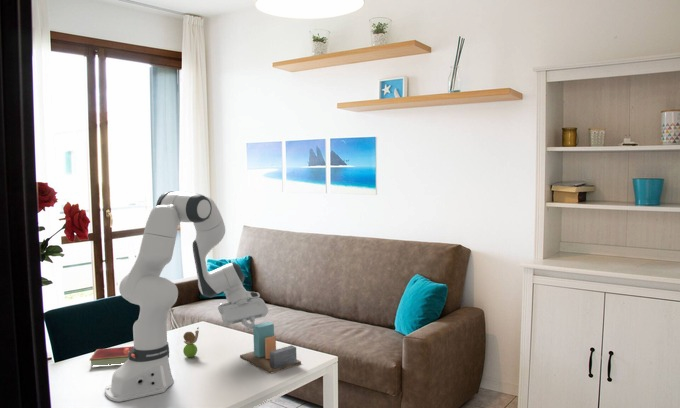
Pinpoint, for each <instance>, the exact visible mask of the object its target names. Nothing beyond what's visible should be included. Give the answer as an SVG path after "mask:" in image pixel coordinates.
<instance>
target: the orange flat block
mask: <svg viewBox="0 0 680 408" xmlns="http://www.w3.org/2000/svg"><path fill="white" fill-rule="evenodd" d="M276 341H277V338H276V336H275V335H274V336H271V337H267V338H265V358H266V359H270V351H274V350H277V342H276Z"/></svg>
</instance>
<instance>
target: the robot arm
mask: <svg viewBox="0 0 680 408" xmlns="http://www.w3.org/2000/svg"><path fill="white" fill-rule="evenodd" d="M180 223H192V224H193V227H194V228H195V229H194V230H195V231H196V232H195V233H196V235H195V238H194V240H193V242H192V254H193V259H194V264H195V268H196V274H197V286H198V289H199V292H200V294H201V295H202V296H204V297H207V298H213V297H216V296H217V295H218V294H221V293H224V294H225V299H226V301H227V302H226V303H220V304H219V306H218V307H217V310H218V312H219V314H220V317H221V321H222V323H223V325H224V326H230V325H234V324H238V323H242V325H243V326H244V327H246V328H247V330H248V331H249V330H253V325H256V324H255V320H256V319H259V318H264V317H266V316H267V315H268V314H269V313H268V312H269V308H268V306H267V304H266V302H265V300H264V299H263V298H261V294H260V293H259V292H255V291H249V290H246V288H245V287H244V281H245V275H244V273H243V271H242V269H241V267H240V264H238V263H235V262H230V263H226V264H224V265H222V266H220V267H218V268H215V269H213V270H210V271H208V267H207V262H206V258H207V255H208V254H209V253H210V252H211V251H212V250H213V249H214V248H215V247H216V246H217V245H219V244H220V243H221V241H222V240H223V239H224V236H225V234H226V225H225V223H224V219H223V217H222V214H221V211H220V210H219V208H218V206H217V204H216V202H215V201H214V200H213V199H212V198H211V197H209V196H205V195H203V194H200V193H193V192H188V191H166V192H163V193H162V194H161V195H160V196H159V197H158V199H157V200H156V205H155V206H154V207H153V208H152V209H151V211H150V213H149V215H148V218H147V220H146V223H145V226H144V230H143V235H142V238H141V239H142V240H141V244H140V247H139V252H138V255H137V257H136V260H135V262H134V264H133V266H132V267H131V269H130V271H129V273H128V274H126V276H124V277H123V278H122V279H121V281H120V283H119V287H118V288H119V289H118V290H119V294H120V296H121V297H122V298H123V299H124V300H126V301H128V302H129V303H131V304H134V305H137V306H139V315H138V319H137V320H135V321H134V323H133V326H132V335H133V336H132V337H133V338H132V339H133V348H132V349H131V350H130V349H129V348H125V350H124V353H125V354H126V355H128V357H129V359H128V360H127V361H126V362H125V363H124V364H123V365H119V367H118V368H117V369H116V370H114V372H113V374H112V377H111V384H110V385H107V386H106V387H105V389H104V395H105V396H106V398H107V399H108V400H110V401H113V402H119V403H120V402H124V401H130V400H133V399H139V398H144V397H147V396H152V395H156V394H163V393H165V392H166V391H167V389H168V388H169V387H170V386H172V384H173V383H174V382H175V381H174V380H175V379H174V378H173V375H172V371H171V368H170V360H169V358H170V348H169V342H168V331H167V330H168V329H167V327H168V325H167V324H168V317H169V313H170V310H171V308H172V307H173V306H174V305H175V304H176V303H177V301H178V300H177V299H178V298H179V297H178V296H179V290H178V287H177V285H176V284H175V283H174V282H173V281H171V280H170V279H168V278H166V277H162V276H161V273H162V271H163V270H164V268H165V267H166V265H168V264H170V262H171V260H172V258H173V255H174V249H175V244H176V240H177V235H178V227H179V225H180ZM248 321H249V322H251V323H249V322H248Z"/></svg>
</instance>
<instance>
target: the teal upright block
mask: <svg viewBox="0 0 680 408" xmlns="http://www.w3.org/2000/svg"><path fill="white" fill-rule="evenodd" d="M274 326H275V324H274V323H272V322H269V321H265V322H262V323H257V324H255V325H253V329H252V330H253V332H252V335H253V351H254V355H255V356H257V357H259V358H260V357H264V356H265V338H267V337H271V336H275V327H274Z"/></svg>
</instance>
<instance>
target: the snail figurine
mask: <svg viewBox="0 0 680 408" xmlns="http://www.w3.org/2000/svg"><path fill="white" fill-rule="evenodd" d="M199 332H200V331H199V326H197V327H196V330H195V332H192V331H186V332H185V333H184V334H183V339H184V341H183V343H184V344H185V345H184V347H183V351H182V352H183V355H184V356H185V357H186V358H194V357H195V356H196V355H197V352H198V347H197V345H196V344H195V343H197V340H198V338H199V334H200V333H199Z"/></svg>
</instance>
